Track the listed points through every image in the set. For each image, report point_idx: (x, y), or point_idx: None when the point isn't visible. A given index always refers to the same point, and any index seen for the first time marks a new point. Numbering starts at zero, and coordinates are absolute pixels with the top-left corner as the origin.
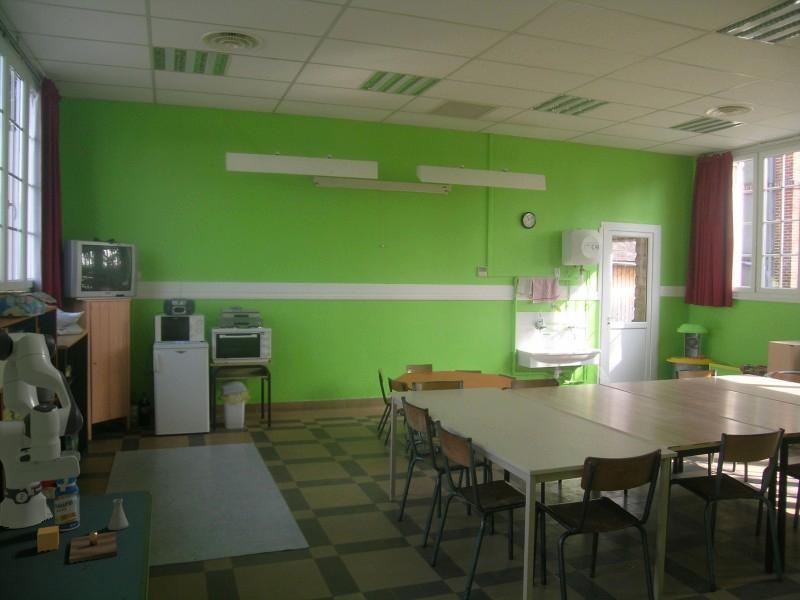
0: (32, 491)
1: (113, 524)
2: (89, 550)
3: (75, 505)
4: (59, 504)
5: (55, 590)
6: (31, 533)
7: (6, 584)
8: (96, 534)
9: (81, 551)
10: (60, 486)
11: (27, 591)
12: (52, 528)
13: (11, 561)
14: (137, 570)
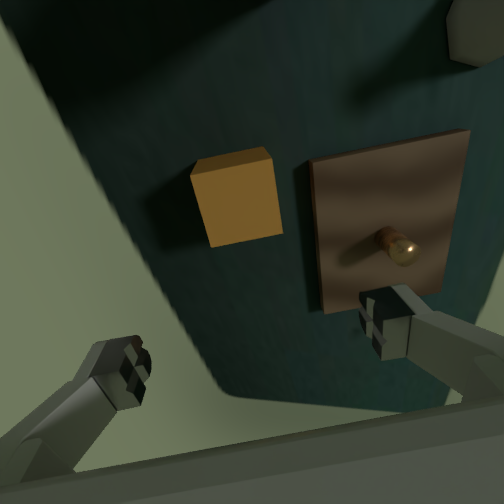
0: (136, 396)
1: (483, 49)
2: (373, 274)
3: None
4: None
5: (309, 397)
6: None
7: (207, 369)
8: (414, 258)
9: (352, 277)
10: (385, 346)
11: (260, 394)
12: (253, 192)
13: (160, 266)
14: None
